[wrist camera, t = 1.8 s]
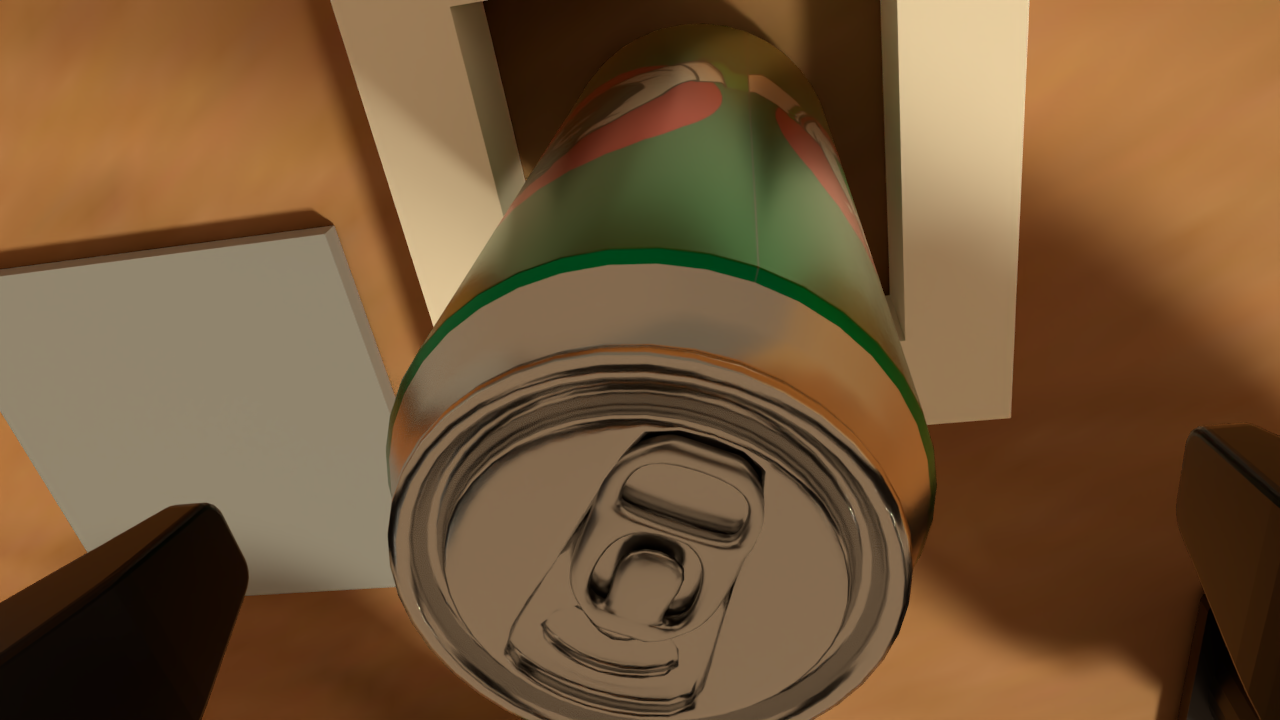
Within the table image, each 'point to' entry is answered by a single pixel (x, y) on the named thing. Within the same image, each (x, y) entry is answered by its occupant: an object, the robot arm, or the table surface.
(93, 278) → the grey mat
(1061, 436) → the table surface
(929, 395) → the block
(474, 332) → the soda can
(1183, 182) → the table surface
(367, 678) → the table surface
